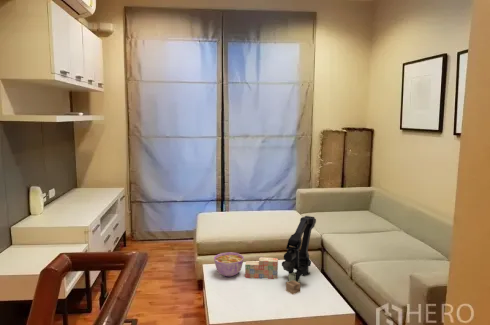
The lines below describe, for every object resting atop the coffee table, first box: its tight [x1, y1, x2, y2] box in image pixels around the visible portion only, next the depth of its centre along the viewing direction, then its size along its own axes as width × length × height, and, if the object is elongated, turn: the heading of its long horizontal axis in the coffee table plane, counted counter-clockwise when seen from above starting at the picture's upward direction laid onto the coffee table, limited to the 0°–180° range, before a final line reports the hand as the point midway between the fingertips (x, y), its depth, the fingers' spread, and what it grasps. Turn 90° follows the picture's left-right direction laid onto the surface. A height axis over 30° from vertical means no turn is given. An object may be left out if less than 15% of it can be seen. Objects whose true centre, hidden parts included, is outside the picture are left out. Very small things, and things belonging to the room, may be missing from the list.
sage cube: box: [288, 271, 301, 283], centre depth 244 cm, size 5×5×5 cm
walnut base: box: [285, 280, 301, 295], centre depth 230 cm, size 6×6×5 cm
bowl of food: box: [213, 251, 245, 278], centre depth 256 cm, size 20×20×12 cm
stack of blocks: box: [244, 257, 279, 280], centre depth 252 cm, size 21×6×12 cm, turn 84°
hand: (294, 280), depth 244 cm, fingers closed on sage cube, 5 cm apart
